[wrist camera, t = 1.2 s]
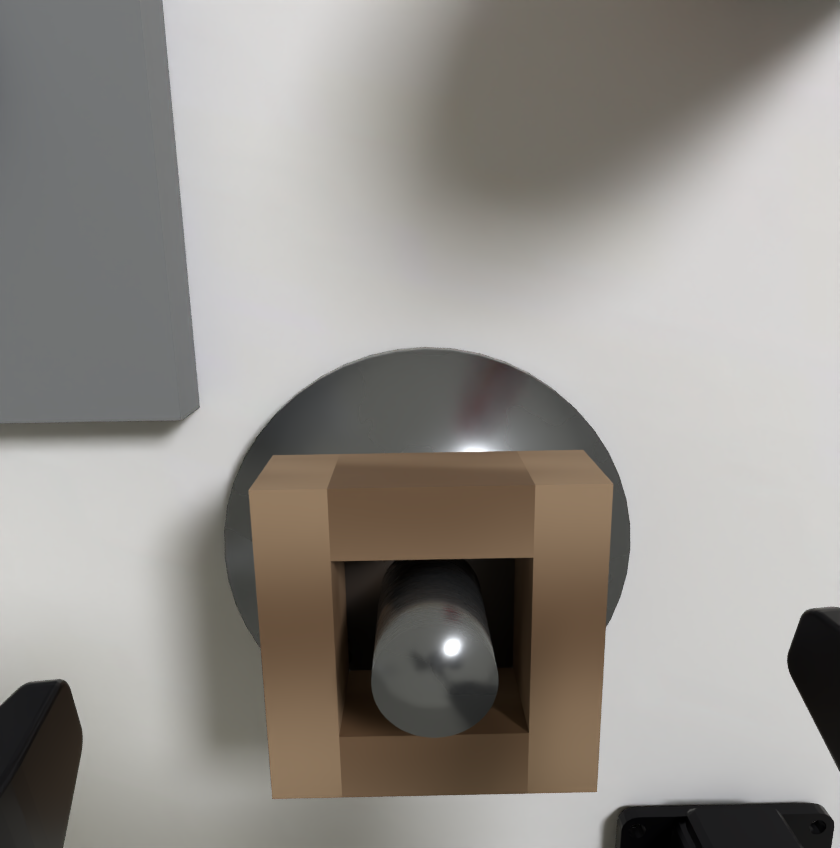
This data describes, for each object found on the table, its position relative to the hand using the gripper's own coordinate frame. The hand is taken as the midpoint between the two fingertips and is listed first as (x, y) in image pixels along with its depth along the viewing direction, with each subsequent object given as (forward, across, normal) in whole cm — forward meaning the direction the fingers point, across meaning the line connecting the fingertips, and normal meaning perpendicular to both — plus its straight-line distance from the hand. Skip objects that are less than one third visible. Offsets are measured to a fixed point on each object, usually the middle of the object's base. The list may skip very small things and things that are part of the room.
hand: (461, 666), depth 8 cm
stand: (+10, -1, +5) cm, 11 cm away
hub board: (+14, +11, -6) cm, 19 cm away
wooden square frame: (+7, -1, +5) cm, 8 cm away
